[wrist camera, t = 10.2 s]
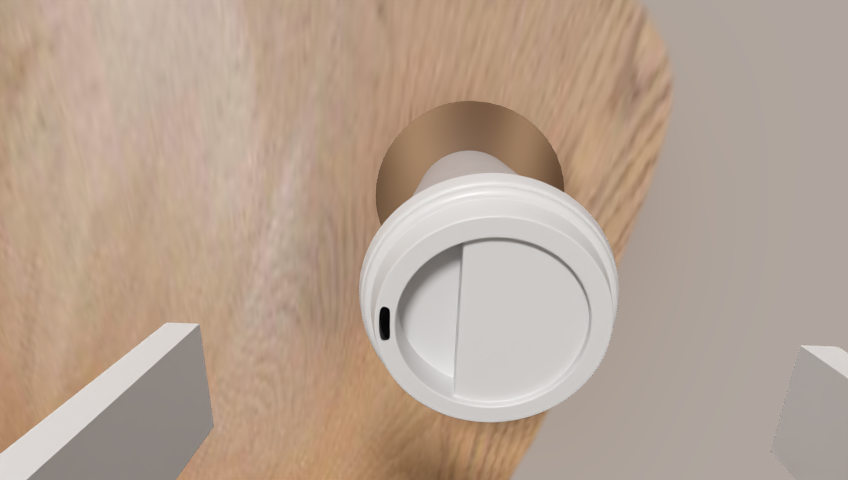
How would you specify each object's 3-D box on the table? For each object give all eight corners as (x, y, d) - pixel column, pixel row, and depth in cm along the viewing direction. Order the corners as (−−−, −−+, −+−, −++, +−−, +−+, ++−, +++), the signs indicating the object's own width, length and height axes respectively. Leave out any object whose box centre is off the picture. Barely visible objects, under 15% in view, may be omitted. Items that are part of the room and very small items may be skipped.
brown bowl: (385, 257, 36) (375, 281, 31) (386, 98, 33) (375, 98, 28) (539, 264, 36) (552, 290, 31) (556, 103, 32) (575, 104, 27)
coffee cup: (429, 97, 27) (417, 135, 13) (572, 163, 28) (702, 264, 14) (370, 236, 30) (310, 385, 16) (500, 290, 31) (548, 473, 17)
